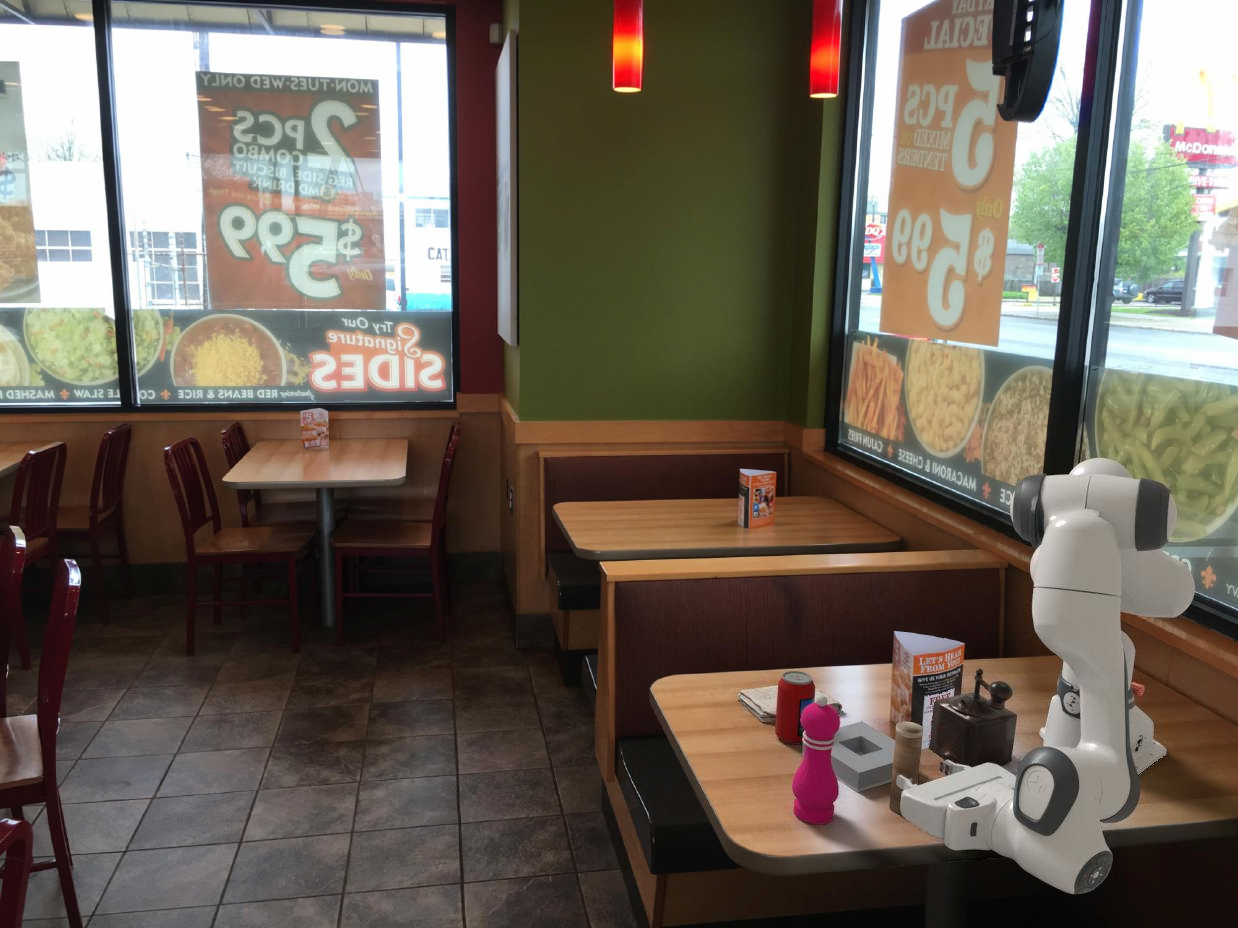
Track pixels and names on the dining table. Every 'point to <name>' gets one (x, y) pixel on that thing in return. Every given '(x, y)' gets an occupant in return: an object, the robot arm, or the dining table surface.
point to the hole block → (862, 756)
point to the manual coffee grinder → (975, 726)
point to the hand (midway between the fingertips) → (921, 771)
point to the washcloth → (771, 702)
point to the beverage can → (793, 705)
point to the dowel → (905, 759)
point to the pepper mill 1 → (817, 764)
